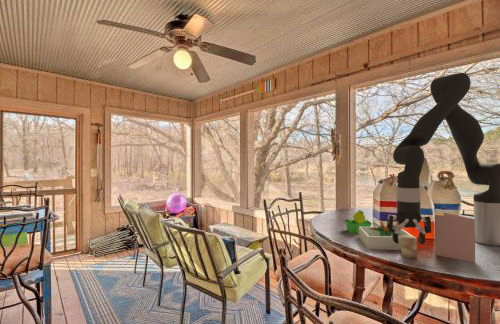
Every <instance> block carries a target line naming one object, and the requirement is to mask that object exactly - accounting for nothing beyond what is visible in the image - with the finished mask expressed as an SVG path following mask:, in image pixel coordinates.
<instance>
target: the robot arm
mask: <svg viewBox="0 0 500 324" xmlns="http://www.w3.org/2000/svg"><path fill="white" fill-rule="evenodd" d="M471 82H472V81H471V78H470V76H469V74H467V73H465V72H455V73H449V74H446V75H441V76H438V77H435V78H434V79H432V81H431V83H430V86H429V87H430V89H429V90H430V93H431V96H432V98H433V100H434V102H435V105H434V106H433V107H432V108H430V109H429V110H428V111H426V113H424V114H423V115H421V117H419V119H418V120H417V121H416V122H415V123H414V125H413V127H412V128H411V131H410V132H409V134H408V135H407V136H406V137H404V139H403V140H402V141H401V142H400V143H399V144H398V145H397V146H396V147H395V149H394V151H393V154H392V158H393V161H394V162H395V163H396V164H397V165H400V166H404V169H403V171H400V172H398V173H397V179H396V181H397V182H396V183H397V188H396V189H397V190H396V214H395V215H393V214H390V213H389V214H387V219H386V227H387V230H389V231H390V232H392V236H393V241H394V242H395V243H398V232H399V231H400V230H401V229H403V228H405V229H406V228H411V229H414V228H415V229H417V231H418V243H419V244H420V245H424V244H425V243H426V234H431V233H432V220H431V216H430V215H429V216H428V215H426V214H425V215H421V213H422V212H421V190H420V189H421V187H420V176H421V173H422V170H423V166H424V164H425V163H424V162H425V153H424V150H423V149H422V148H421V147H424V146H426V145H428V144H429V143H430V141H431V140H432V138H433V136H434V135H435V133H436V132H437V129H438V128H439V127H440V125H441V124H442V122H443V121H444V120H445V121H446V125H448V128H449V130H450V133H451V135H452V138H453V139H454V142H455V144H456V147H457V149H458V151H459V153H460V155H461V157H462V161H463V164H464V168H465V171H466V174H467V177H468V179H469V181H470V182H471V184H474V185H478V186H479V185H480V186H488V190H485V191H483V192H477V193H474V195H473V197H472V198H473V219H475V243H478V244H483V245H486V246H495V247H496V246H497V247H500V163H492V162H484V163H483V162H480V161H479V159H478V157H477V155H478V152H479V150H480V148H481V146H482V145H483V143H484V140H485V136H484V135H485V134H484V131H483V129H482V127H481V123H480V122H479V121H478V119H476V117H474V116H473V115H472V114H470V113H469V112H468V111H466V110H465V109H463V108H462V107H461V106H460V105H459V104H460V102H461V101H462V100H463V99H464V97H466V95H467V94H468V92H469V90H470V88H471V85H472V84H471ZM396 220H397V222H396V223H395V224H394V222H395V221H396ZM421 221H422V222H423V224H424V225H423V226H422V225H421V224H420V222H421ZM393 225H395V227H394V228H393ZM423 227H424V228H423Z"/></svg>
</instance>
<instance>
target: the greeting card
mask: <svg viewBox="0 0 500 324" xmlns="http://www.w3.org/2000/svg"><path fill="white" fill-rule="evenodd" d="M433 218H434V255H435V256H439V257H444V258H450V259H455V260H460V261H465V262H470V263H476V241H475V219H474V218H471V217H466V216H462V215H457V214H451V213H448V212H443V215H442V214H441V215H439V214H434V217H433Z"/></svg>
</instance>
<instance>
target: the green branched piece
mask: <svg viewBox="0 0 500 324" xmlns="http://www.w3.org/2000/svg"><path fill="white" fill-rule="evenodd" d="M374 227H375V228H370V230H375V231H378V232H379V233H380V235H379V236H387V237H390V236H391V235H392V232H390V231H389V230H387V226H385V225H384V222H383V221H382V220H381V221H380V226H374ZM376 227H378V228H376ZM394 227H395V224H393V228H394Z"/></svg>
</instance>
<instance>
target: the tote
mask: <svg viewBox="0 0 500 324" xmlns="http://www.w3.org/2000/svg"><path fill="white" fill-rule="evenodd" d="M375 227H376V228H378V227H379V226H371V227H359V233H358V238H359V239H360V241H361V242H362V243H363V244H364V246H365V247H366V248H367V250H387V251H391V250H392V251H401V236H403V235H409V236H413V235H412V234H410V233H409V232H407V231H406V230H405V229H403V228H402V229H401V230H400V231H399V232H398V243H395V242H394V241H393V236H392V235H391V236H390V237H387V236H379V235H380V233H379V232H378V231H375V230H370V228H375Z"/></svg>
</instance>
